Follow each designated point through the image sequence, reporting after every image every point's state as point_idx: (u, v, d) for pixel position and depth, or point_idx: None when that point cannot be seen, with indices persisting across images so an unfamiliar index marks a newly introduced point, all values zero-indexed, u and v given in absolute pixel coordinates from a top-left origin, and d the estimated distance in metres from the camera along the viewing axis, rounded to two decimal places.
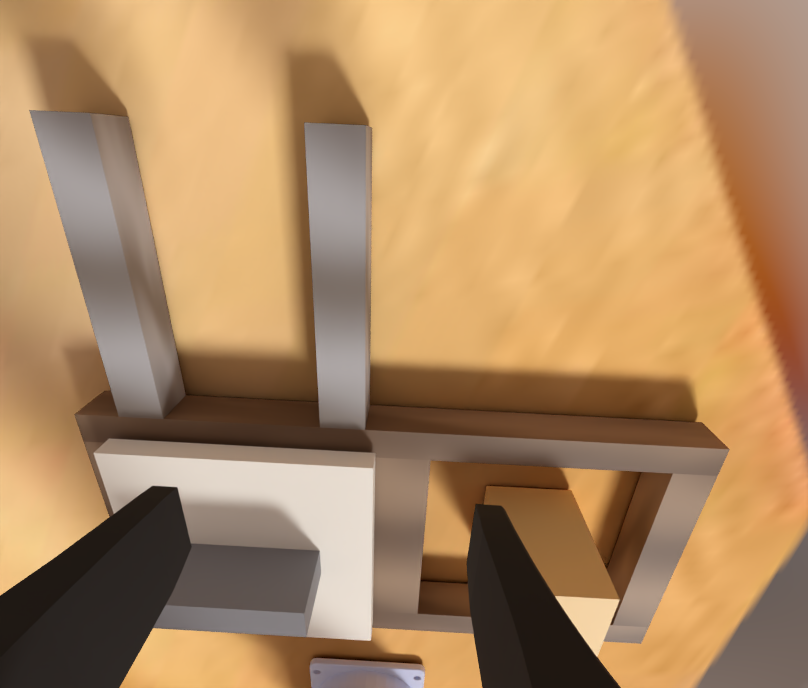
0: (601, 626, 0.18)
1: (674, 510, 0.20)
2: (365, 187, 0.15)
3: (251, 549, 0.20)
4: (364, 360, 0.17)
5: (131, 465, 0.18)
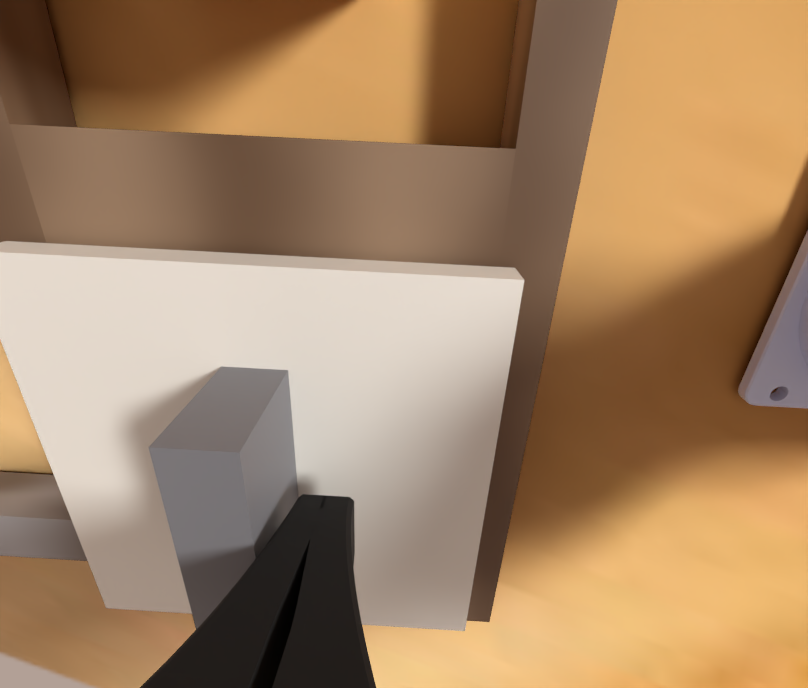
0: None
1: None
2: None
3: None
4: None
5: (111, 578, 0.14)
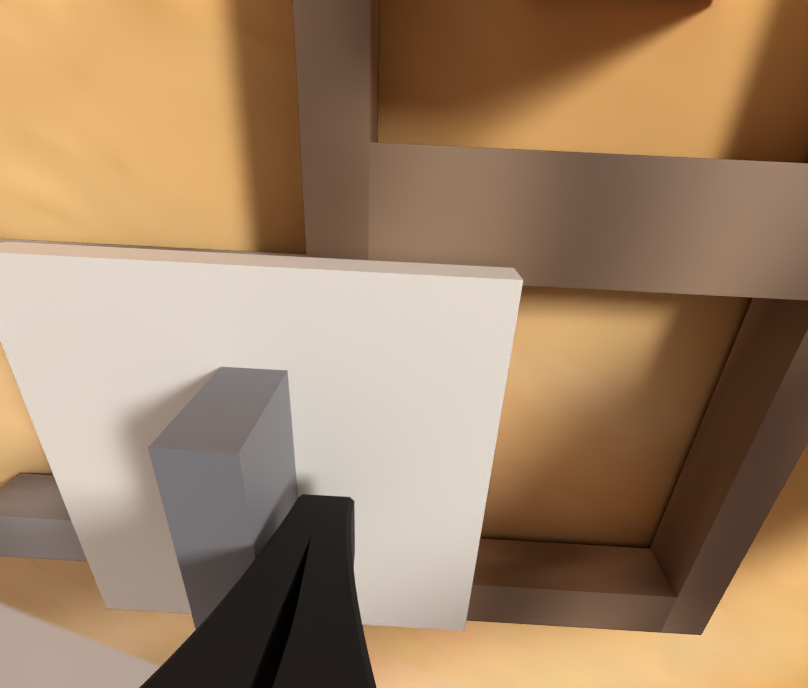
0: None
1: None
2: None
3: None
4: None
5: (111, 579, 0.14)
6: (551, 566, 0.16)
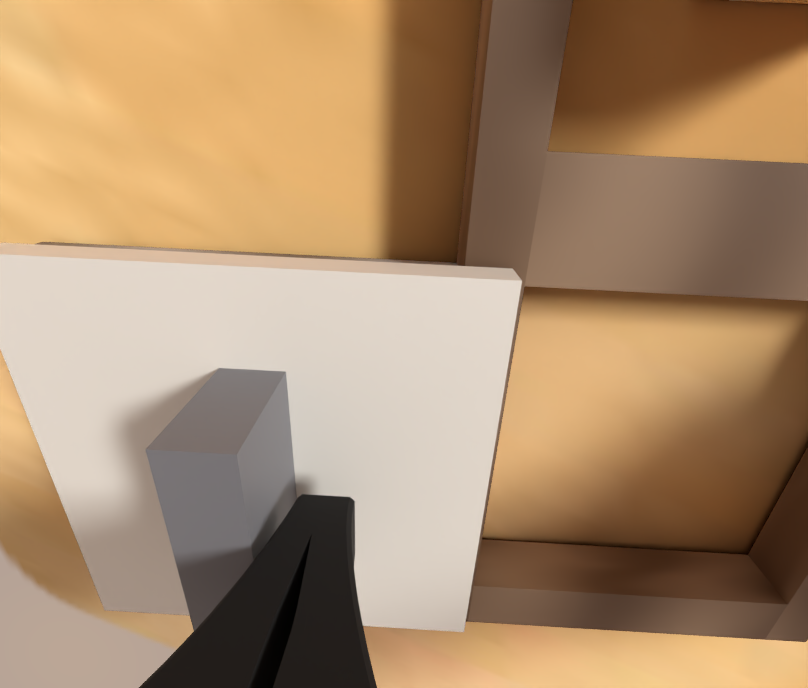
0: None
1: None
2: None
3: None
4: None
5: (110, 580, 0.14)
6: (655, 573, 0.16)
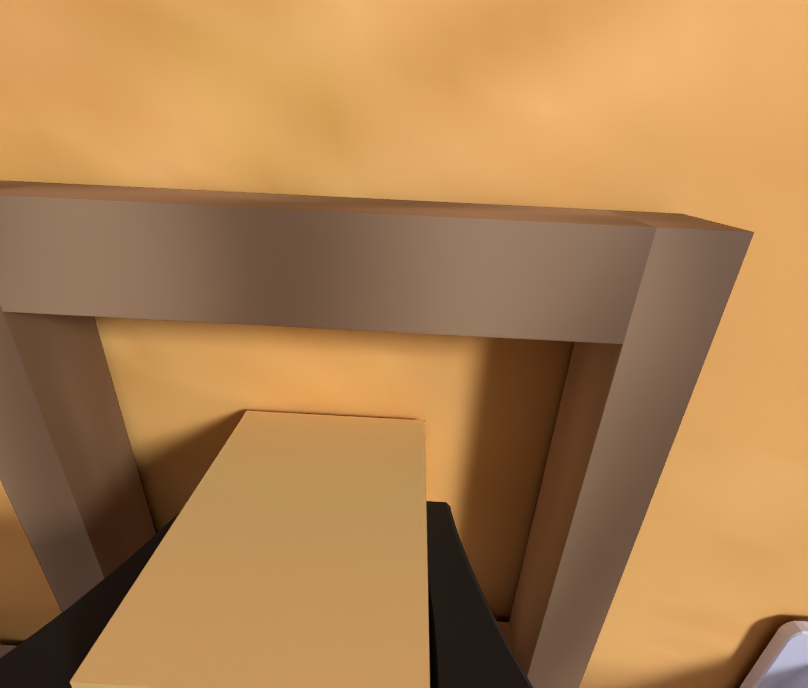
0: None
1: (115, 278, 0.07)
2: None
3: None
4: None
5: None
6: None
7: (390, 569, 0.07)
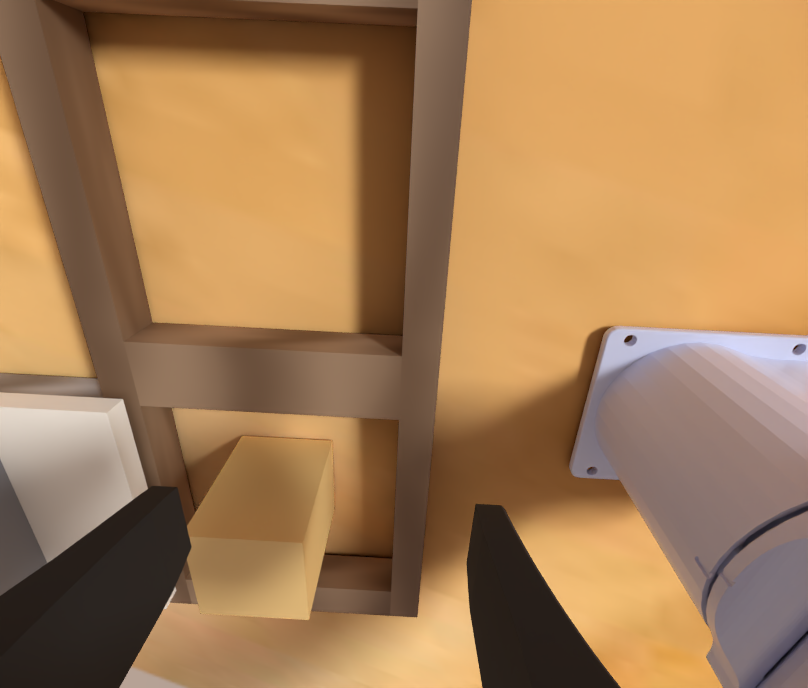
0: (229, 544, 0.16)
1: None
2: None
3: None
4: None
5: None
6: None
7: (298, 504, 0.17)
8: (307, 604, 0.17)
